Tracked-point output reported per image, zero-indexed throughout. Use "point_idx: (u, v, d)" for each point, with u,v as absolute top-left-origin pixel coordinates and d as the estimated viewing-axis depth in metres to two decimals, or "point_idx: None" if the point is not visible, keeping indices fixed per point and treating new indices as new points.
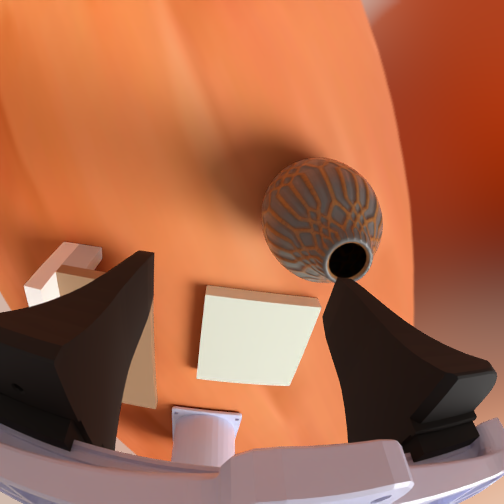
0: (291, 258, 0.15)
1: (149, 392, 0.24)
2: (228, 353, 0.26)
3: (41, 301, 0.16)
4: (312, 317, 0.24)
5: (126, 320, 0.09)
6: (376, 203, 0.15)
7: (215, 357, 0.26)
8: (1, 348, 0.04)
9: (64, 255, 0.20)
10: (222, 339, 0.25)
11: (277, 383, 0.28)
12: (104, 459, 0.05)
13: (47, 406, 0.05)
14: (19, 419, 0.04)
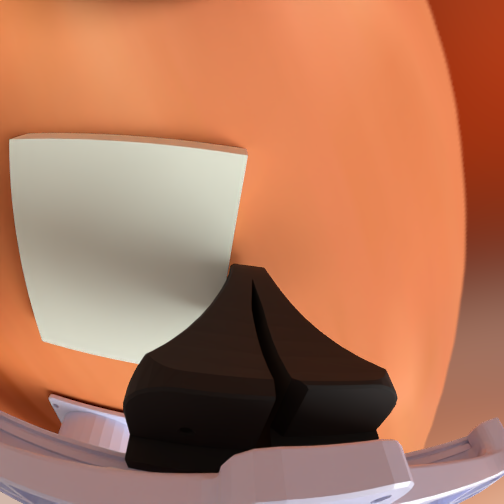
0: None
1: None
2: (69, 285, 0.11)
3: None
4: (228, 185, 0.10)
5: None
6: None
7: (52, 295, 0.11)
8: (195, 396, 0.04)
9: None
10: (49, 248, 0.10)
11: None
12: (104, 459, 0.05)
13: (221, 442, 0.05)
14: (182, 463, 0.05)
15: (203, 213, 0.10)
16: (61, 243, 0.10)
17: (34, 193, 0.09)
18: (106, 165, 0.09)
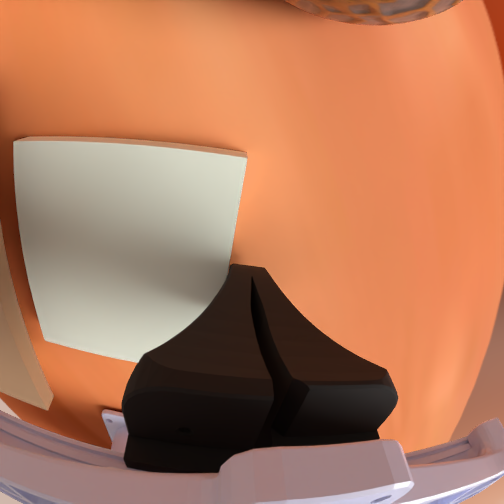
0: None
1: (23, 375, 0.10)
2: (72, 285, 0.11)
3: None
4: (228, 187, 0.10)
5: None
6: None
7: (55, 295, 0.12)
8: (193, 396, 0.04)
9: None
10: (52, 248, 0.11)
11: None
12: (104, 459, 0.05)
13: (220, 442, 0.05)
14: (180, 463, 0.05)
15: (204, 214, 0.10)
16: (64, 243, 0.11)
17: (38, 194, 0.10)
18: (109, 167, 0.09)
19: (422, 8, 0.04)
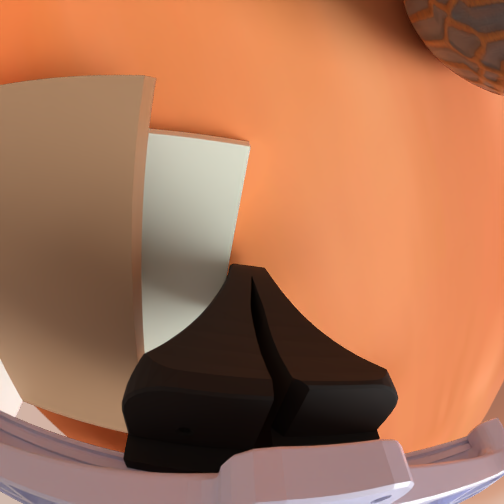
0: None
1: None
2: None
3: None
4: (231, 176, 0.10)
5: None
6: None
7: None
8: (193, 396, 0.04)
9: None
10: None
11: None
12: (104, 459, 0.05)
13: (220, 442, 0.05)
14: (180, 463, 0.05)
15: (205, 204, 0.10)
16: None
17: None
18: None
19: None
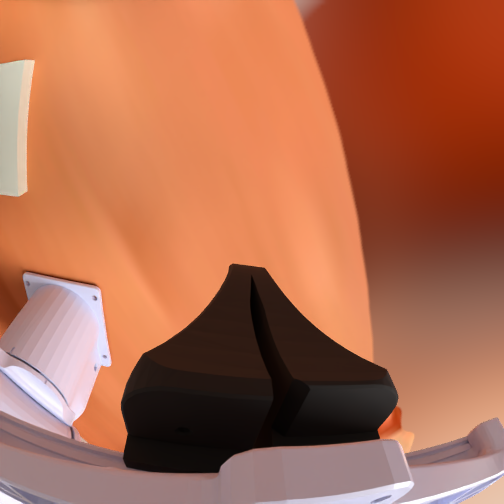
0: None
1: None
2: None
3: None
4: (18, 74, 0.13)
5: None
6: None
7: None
8: (192, 396, 0.04)
9: None
10: None
11: (7, 191, 0.17)
12: (104, 459, 0.05)
13: (219, 442, 0.05)
14: (180, 463, 0.05)
15: (10, 90, 0.14)
16: None
17: None
18: None
19: None
